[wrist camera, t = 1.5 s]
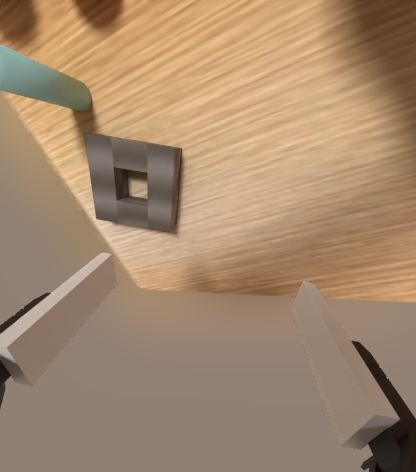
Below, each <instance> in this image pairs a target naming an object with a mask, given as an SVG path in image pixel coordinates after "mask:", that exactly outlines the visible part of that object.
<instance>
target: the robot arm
mask: <svg viewBox="0 0 416 472" xmlns="http://www.w3.org/2000/svg"><path fill="white" fill-rule="evenodd" d="M116 285H117V279H116V274H115V268H114V262H113V256H112V254H108V253H101V254H99V255H98V256H97V257H96V258H95V259H93V260H92V261H91V262H89V263H88V264H87V265H86V266H85V267H83V268H82V269H81V270H80V271H78V272H77V273H76V274H75V275H73V276H72V277H71V278H70V279H68V280H67V281H66V282H65V283H63V284H62V285H61V286H60V287H58V288H57V289H56V290H55V291H53V292H52V293H46V294H44V295H42V296H40V297H38V298H36V299H34V300H33V301H32V302H30V303H29V304H28V305H26V306H25V307H24V309H21V310H20V311H19V312H17V313H16V314H15V316H12V317H11V318H9V319H8V320H7V321H6V322H4V323H3V324H2V325H0V407H1V403H2V400H3V396H4V392H5V383H4V382H5V381H6V380H7V379H8V378H9V377H10V376H12V378H13V379H14V381H15V382H16V383H20V384H24V385H30V386H33V385H34V383H35V382H36V381H37V380H38V379H39V377H40V376H41V375H42V374H43V373H44V371H45V370H46V369H47V368H48V367H49V365H50V364H51V363H52V362H53V361H54V359H55V358H56V357H57V356H58V355H59V353H60V352H61V351H62V350H63V349H64V347H65V346H66V345H67V344H68V343H69V342H70V340H71V339H72V338H73V337H74V336H75V334H76V333H77V332H78V331H79V330H80V328H81V327H82V326H83V325H84V324H85V322H86V321H87V320H88V319H89V318H90V316H91V315H92V314H93V313H94V312H95V310H96V309H97V308H98V307H99V306H100V304H101V303H102V302H103V301H104V300H105V299H106V297H107V296H108V295H109V294H110V293H111V291H112V290H113V289H114V288H115V287H116ZM290 312H291V314H292V317H293V320H294V322H295V325H296V328H297V330H298V333H299V336H300V339H301V341H302V344H303V347H304V349H305V352H306V355H307V357H308V360H309V363H310V365H311V368H312V371H313V374H314V376H315V378H316V381H317V384H318V387H319V389H320V392H321V395H322V398H323V400H324V403H325V406H326V409H327V411H328V414H329V417H330V419H331V422H332V424H333V427H334V430H335V433H336V436H337V438H338V441H339V443H340V446H343V447H348V448H354V449H359V450H361V449H362V448H364V447H365V446H366V445H367V444H368V445H369V447H370V449H371V451H372V453H373V456H371V457H370V458H368V459H367V460H366V461H364V462H363V464H362V466H361V468H362V469H363V470H366V469H367V468H369V472H416V419H415V417H414V416H413V414H412V413H411V411H410V410H409V408H408V407H407V406H406V404H405V403H404V401H403V400H402V398H401V397H400V395H399V394H398V393H397V391H396V390H395V388H394V387H393V386H392V384H391V382H390V381H389V379H387V378H386V375H385V374H384V372H383V371H382V369H381V368H379V365H378V363H377V362H376V360H375V359H374V358H373V356H372V355H371V353H370V352H369V351H368V350H366V348H364V346H363V345H361V344H360V343H359V342H355V341H351V340H350V339H349V337H348V336H347V334H346V332H345V331H344V329H343V328H342V326H341V324H340V323H339V321H338V320H337V318H336V317H335V315H334V313H333V312H332V310H331V309H330V307H329V305H328V304H327V302H326V301H325V299H324V297H323V296H322V294H321V293H320V291H319V289H318V288H317V286H316V285H315V283H311V282H304V281H302V284H301V286H300V288H299V291H298V293H297V296H296V298H295V301H294V303H293V305H292V308H291V310H290Z"/></svg>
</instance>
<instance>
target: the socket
mask: <svg viewBox="0 0 416 472" xmlns="http://www.w3.org/2000/svg"><path fill="white" fill-rule="evenodd" d="M84 135H85V142H86V149H87V156H88V163H89V170H90V177H91V184H92V191H93V198H94V206H95V213H96V219H99V220H104V221H110V222H115V223H121V224H126V225H132V226H137V227H143V228H148V229H154V230H159V231H165V232H171V231H172V229H173V228H174V226H175V225H176V218H177V204H178V190H179V176H180V162H181V148H177V147H171V146H165V145H159V144H153V143H147V142H141V141H135V140H129V139H123V138H117V137H111V136H105V135H97V134H89V133H84ZM127 169H128V170H134V171H140V172H146V173H148V199H144V198H139V197H133V196H128V184H127Z"/></svg>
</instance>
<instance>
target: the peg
mask: <svg viewBox="0 0 416 472" xmlns="http://www.w3.org/2000/svg"><path fill="white" fill-rule="evenodd" d="M0 90H2V91H6V92H9V93H13V94H17V95H21V96H25V97H29V98H32V99H36V100H40V101H44V102H48V103H52V104H55V105H59V106H63V107H67V108H71V109H75V110H78V111H87V110H88V109H89V108H90V106H91V102H92V98H91V94H90V91H89V89H88V88H87V86H86V85H85V84H84V83H82V82H81V81H79V80H76V79H74V78H72V77H70V76H68V75H66V74H63V73H61V72H59V71H57V70H55V69H53V68H50V67H48V66H46V65H44V64H42V63H39V62H37V61H35V60H33V59H31V58H29V57H26V56H24V55H22V54H20V53H18V52H16V51H13V50H11V49H9V48H7V47H5V46H3V45H0Z"/></svg>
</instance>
